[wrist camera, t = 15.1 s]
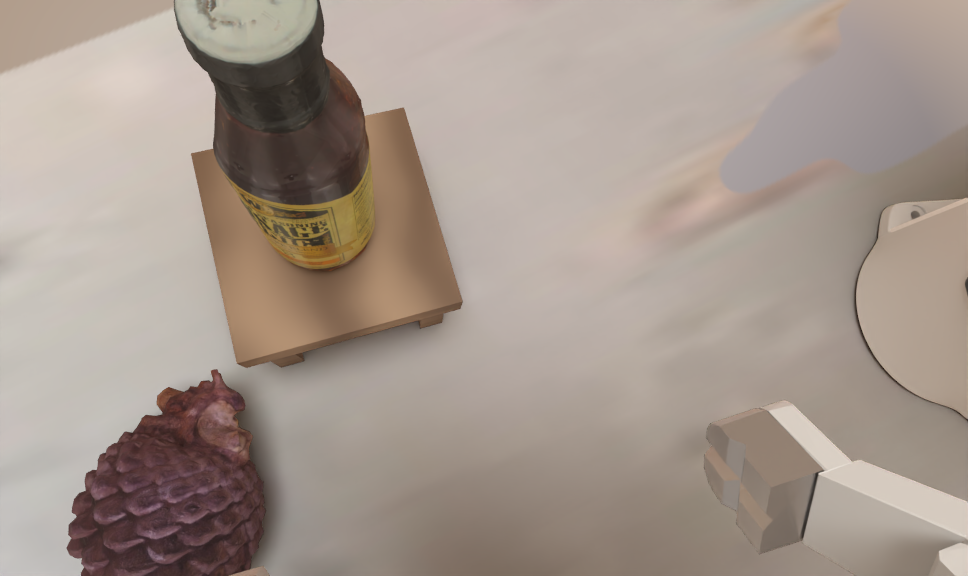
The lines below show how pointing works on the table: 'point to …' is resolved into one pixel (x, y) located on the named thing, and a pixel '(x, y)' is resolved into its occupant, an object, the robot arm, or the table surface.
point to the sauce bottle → (285, 126)
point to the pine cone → (173, 493)
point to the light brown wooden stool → (345, 290)
